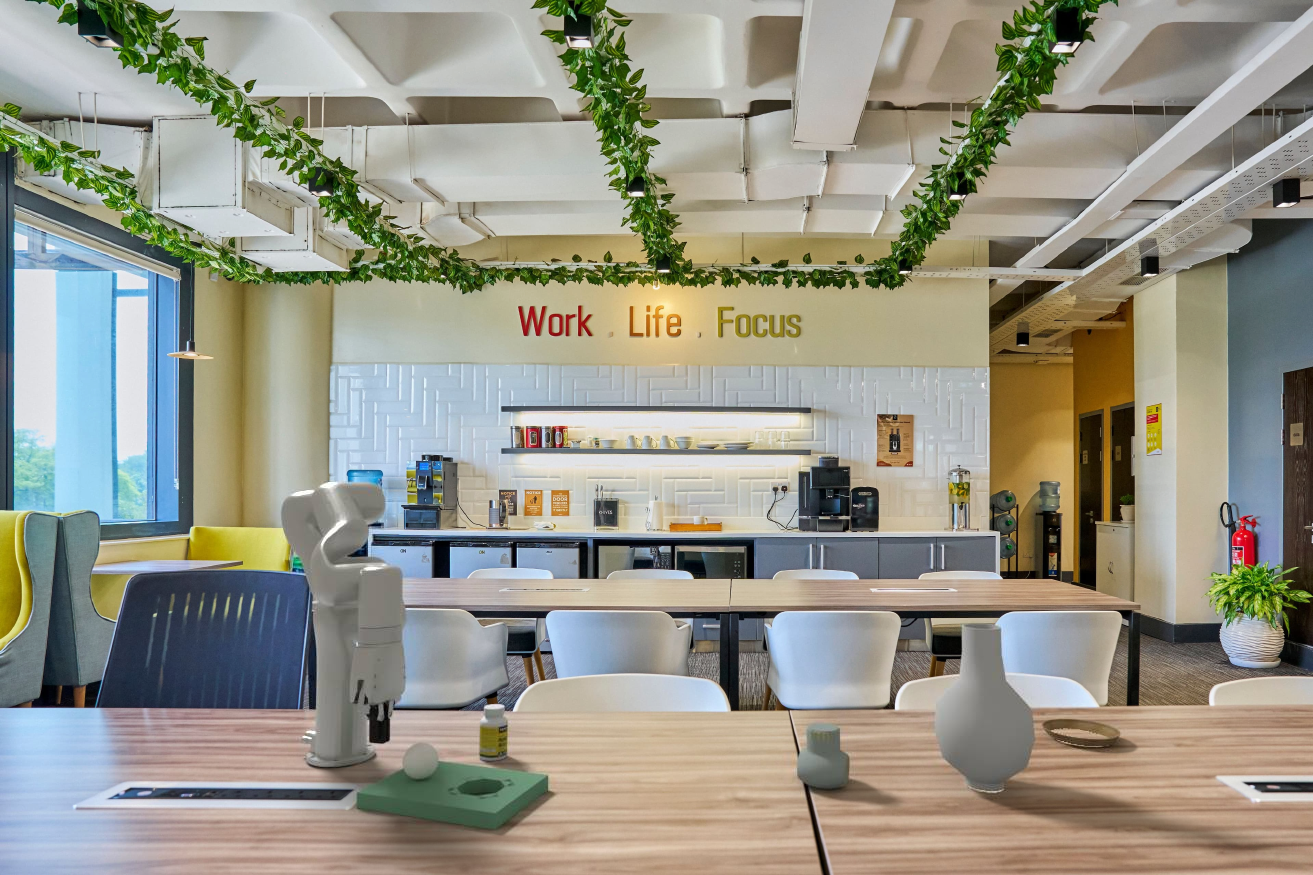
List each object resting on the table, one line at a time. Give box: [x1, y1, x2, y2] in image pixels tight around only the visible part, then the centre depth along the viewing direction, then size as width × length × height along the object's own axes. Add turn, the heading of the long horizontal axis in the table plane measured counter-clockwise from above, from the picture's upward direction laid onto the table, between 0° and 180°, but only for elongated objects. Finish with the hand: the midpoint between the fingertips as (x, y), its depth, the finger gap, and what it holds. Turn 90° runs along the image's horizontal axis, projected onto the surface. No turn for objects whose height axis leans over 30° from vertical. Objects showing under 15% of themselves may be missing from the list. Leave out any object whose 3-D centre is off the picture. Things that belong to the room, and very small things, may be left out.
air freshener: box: [796, 722, 851, 790], centre depth 149 cm, size 11×8×10 cm
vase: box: [934, 622, 1036, 791], centre depth 148 cm, size 17×16×28 cm
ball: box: [402, 741, 440, 780], centre depth 144 cm, size 6×6×6 cm
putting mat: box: [356, 760, 549, 831], centre depth 141 cm, size 26×18×2 cm
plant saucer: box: [1041, 718, 1122, 747], centre depth 174 cm, size 15×15×3 cm
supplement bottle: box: [478, 703, 509, 762], centre depth 163 cm, size 5×5×10 cm
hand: (379, 741), depth 146 cm, fingers closed
